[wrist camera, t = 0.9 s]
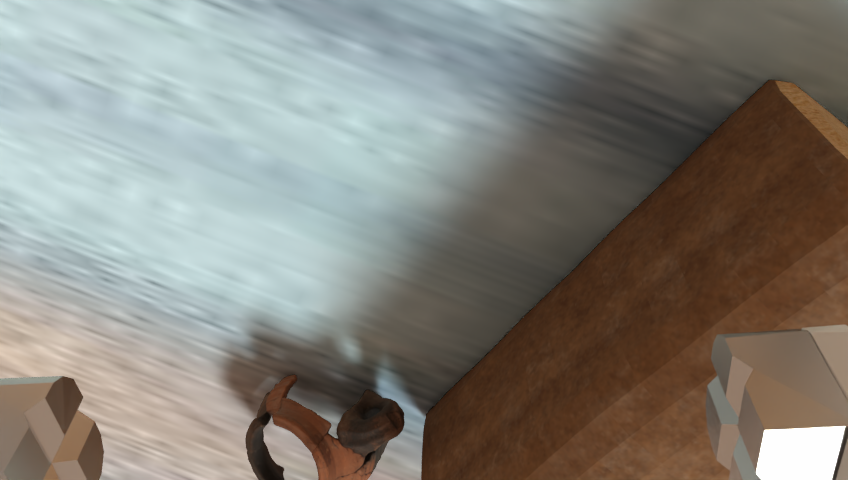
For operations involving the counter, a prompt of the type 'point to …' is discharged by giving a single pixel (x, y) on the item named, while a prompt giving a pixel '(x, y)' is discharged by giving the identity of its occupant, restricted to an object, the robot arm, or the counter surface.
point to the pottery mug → (326, 434)
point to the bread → (662, 311)
